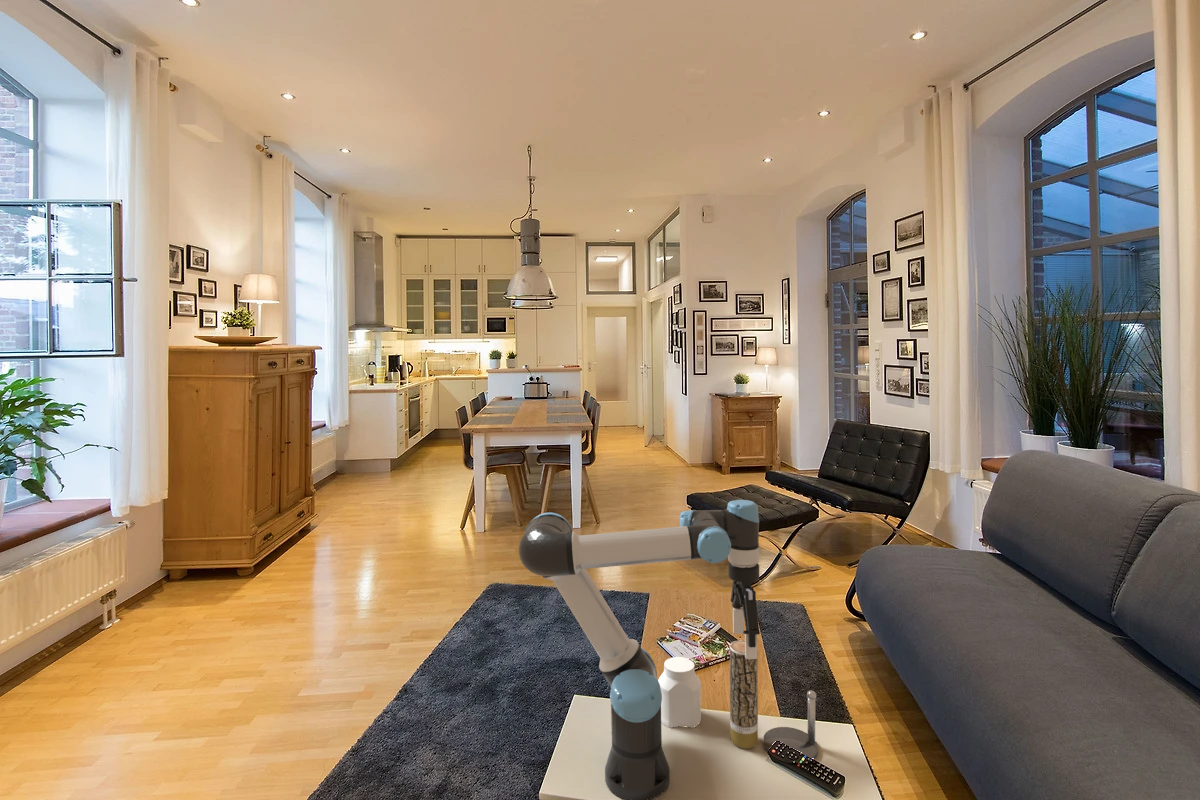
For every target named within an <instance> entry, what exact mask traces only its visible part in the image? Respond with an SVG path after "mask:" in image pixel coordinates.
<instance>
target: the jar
mask: <svg viewBox="0 0 1200 800" xmlns="http://www.w3.org/2000/svg"><path fill="white" fill-rule="evenodd" d="M695 668H696V667H695V663H694V661H693V660H691V659H689V658H687V657H686V658H685V657H682V656H675V657H673V656H672V657H668V658H667V659H666V660H665V661H664V664H663V672H662V673H661V675H660V676H659V678H657V680H658V682H659V684H660V688H661V693H662V702H661V724H662V725H664V726H666V727H667V728H672V729H673V727H674V728H679V727H678V726H687V727H686V728H688V727H694V726H696V725H697V724H698V723H699V722H700V723H701V721H702V708H701V707H702V705H701V692H702V691H701V688H702V682H701V679H700V677H699V676H698V674H696V671H695ZM700 720H701V721H700ZM700 723H699V724H700ZM699 724H698V725H699ZM698 725H697V726H698ZM697 726H696V727H697ZM694 728H695V727H694Z"/></svg>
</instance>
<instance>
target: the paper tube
mask: <svg viewBox="0 0 1200 800" xmlns="http://www.w3.org/2000/svg"><path fill="white" fill-rule="evenodd" d="M758 653H759V652H758V649H757V659H746V658H745V640H740V639H739V640H735V641H731V642H730V643H729V693H730V694H729V701H730V705H729V707H730V708H729V709H730V711H729V712H730V716H729V720H730V727H729V728H730V730H729V731H730V741H731V742H732V744H733V745H735V746H736V747H738V748H741V749H752V748H754V747H756V746H757V745H758V741H759V740H758V739H759V737H758V736H759V734H758V733H759V732H758V731H759V730H758V729H759V728H758V726H759V724H758V723H759V721H758V719H759V718H758V717H759V712H758V711H759V709H758V708H759V707H758V706H759V704H758V700H759V699H758V698H759V697H758V695H759V694H758V691H759V689H758V685H759V684H758V678H759V677H758V676H759V675H758V662H759V661H758V659H759V658H758Z"/></svg>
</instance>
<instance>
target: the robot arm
mask: <svg viewBox="0 0 1200 800" xmlns="http://www.w3.org/2000/svg"><path fill="white" fill-rule="evenodd" d="M759 529H760V518H759V506H758V504H757V503H756V502H754V501H752V500H749V499H736V500H730V501H729V502H728V503H727V507H726V509H711V510H709V509H707V510H706V509H705V510H701V509H700V510H698V509H697V510H696V509H692V510H684V511H682V512H680V515H679V526H672V527H664V528H663V527H661V528H660V527H659V528H649V529H648V528H647V529H640V530H639V529H638V530H628V531H616V532H606V533H593V534H584V535H583V534H581V535H580V534H577V533H576V531H573V529H572V526H571V524H570V523H569V521H568V520H567V519H566V518H565V517H564V516H563V515H561V514H559V513H557V512H556V513H555V512H550V511H549V512H543V513H540V514H538V515H536V516H535V517H533V519H531V521H530V522H529V523H528V524H527V525H526V528H525V531H524V533H523V535H522V537H521V539H520V541H519V545H518V555H519V560H520V561H521V563H522V566H524V568H525V569H526V570H527V571H529V572H530V573H532V574H534V575H537V576H539V577H542V578H543V579H544V580H550V581H552V583H553V584H554V587H556V589H557V590H558V592H559V593H560V595H561V597H562V598H563V600H564V602H565V604H566V605H567V606H568V608H569V609H570V611H571V613H572V615H573V617H574V618H575V620H576V621H577V623H578V625H579V626H580V628H581V629H582V631H583V632H584V634H585V635H586V637H587V639H588V641H589V642H590V644H591V646H592V647H593V648H594V650H595V652H596V653H597V655H598V656H599V658H600V659H599V663H598V664H599V665H598V668H599V670H600V672H601V673H602V675H603V677H604V678H605V680H606V681H607V683H608V685H609V686H610V691H609V700H610V715H611V721H610V723H611V747H610V750H609V754H608V757H607V759H606V763H605V767H604V782H605V784H606V786H607V788H608V790H609V791H610V792H611V793H613V795H615V796H617V797H618V798H621V799H624V800H653V799H656V798H657V797H659V796H662V794H663V793H665V792H666V791H667V789H668V788H669V785H670V779H671V778H670V777H671V776H670V775H671V774H670V772H671V771H670V766H669V763H668V760H667V757H666V754H665V752H664V748H663V746H662V745H663V741H662V738H663V737H662V722H661V702H662V693H661V688H660V684H659V682H658V675H657V673H658V672H657V669H656V668H657V667H656V663H655V662H654V660H653V658H652V656H651V655H650V653H648V652H647V651H646V649H645V648H642V647H641V645H640V644H639V642H638V641H637V640H636V639H633V638H629V637H628V635H627V633H626V632H625V631H624V629H623V627H622V626H621V624H620V623H619V622H620V621H618V619H617V617H616V616H615V614H614V612H613V611H612V609H611V608H610V606H609V604H608V603H607V601H606V600H605V598H604V596H603V595H602V592H601V591H600V589H599V588H598V586H597V585H596V583H595V581H594V580H593V578H592V576H591V575H590V574H589V572H588V569H599V568H612V567H623V566H632V565H644V564H654V563H665V562H666V563H667V562H677V561H688V560H689V561H690V560H701V559H702V560H704V561H706V562H707V563H710V564H719V563H721V562H724V561H725V560H726V559H727V560H728V563H727V564H728V566H727V567H728V571H727V572H728V578H729V579H730V580H732V586H731V587H732V589H731V595H730V596H731V597H730V602H731V603H732V604H731V606H732V632H733V634H735V635H741V634H743V635H744V641H745V658H746V659H757V650H758V635H760V626H759V625H760V624H759V617H758V608H757V595H756V594H757V592H756V591H755V590H754V587H753V586H752V584H753V582H757V581H758V580H759V579H760V564H759V563H760V562H759V561H760V555H759V554H760V553H761V552H762V550H761V549H760V548H759V547H760V543H759V541H760V540H759V539H760V537H759V535H760V531H759Z"/></svg>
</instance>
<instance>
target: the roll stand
mask: <svg viewBox="0 0 1200 800" xmlns="http://www.w3.org/2000/svg"><path fill="white" fill-rule="evenodd" d="M806 697H807V731H806V732H805V731H803V730H802V729H799V728H796V727H795V728H794V727H789V726H778V727H773V728H770V729H769V730H767V731H766V732H765V733H764V735H763V739H762V743H763V748H764V750H765V751H766V752H767V753H768V751H769V748H770V747H771V746H772V744H773V743H774V742H775V741H781V742H783V743H784V744H786V745H788V746H790V747H792V748H794V749H796V750H798V751H800V752H802V753H803V754H804V755H806V756H808V757H810V758H814V760H815V759H816V758H817V756H818V753H819V752H818V751H819V749H818V747H819V746H818V743H817V741H816V698H817V693H816V692H815V691H814V690H811V689H810V690H808V691H807V693H806Z"/></svg>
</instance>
